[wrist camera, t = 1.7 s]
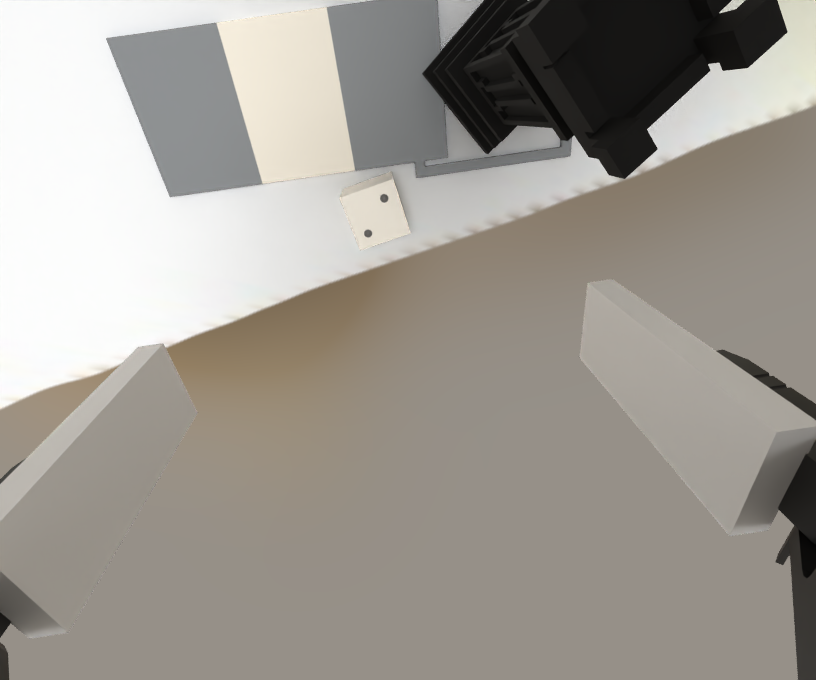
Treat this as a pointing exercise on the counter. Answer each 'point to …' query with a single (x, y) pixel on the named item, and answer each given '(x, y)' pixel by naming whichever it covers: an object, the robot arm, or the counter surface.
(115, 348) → the counter surface
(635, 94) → the chess piece
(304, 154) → the track
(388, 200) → the die
